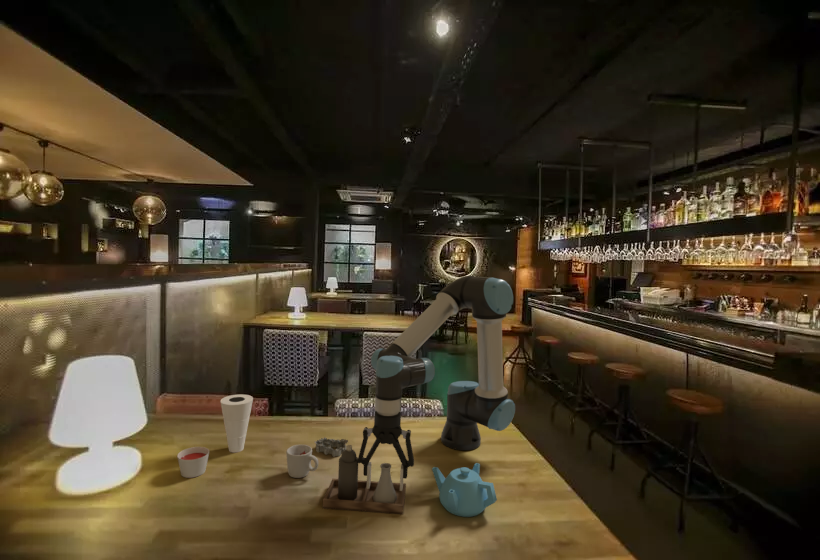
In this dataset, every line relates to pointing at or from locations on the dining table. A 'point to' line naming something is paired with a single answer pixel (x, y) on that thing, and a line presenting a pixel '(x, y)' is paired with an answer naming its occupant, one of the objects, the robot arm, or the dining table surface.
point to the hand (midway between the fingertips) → (384, 487)
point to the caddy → (364, 499)
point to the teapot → (464, 491)
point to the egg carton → (325, 445)
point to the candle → (193, 461)
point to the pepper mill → (348, 475)
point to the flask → (385, 486)
